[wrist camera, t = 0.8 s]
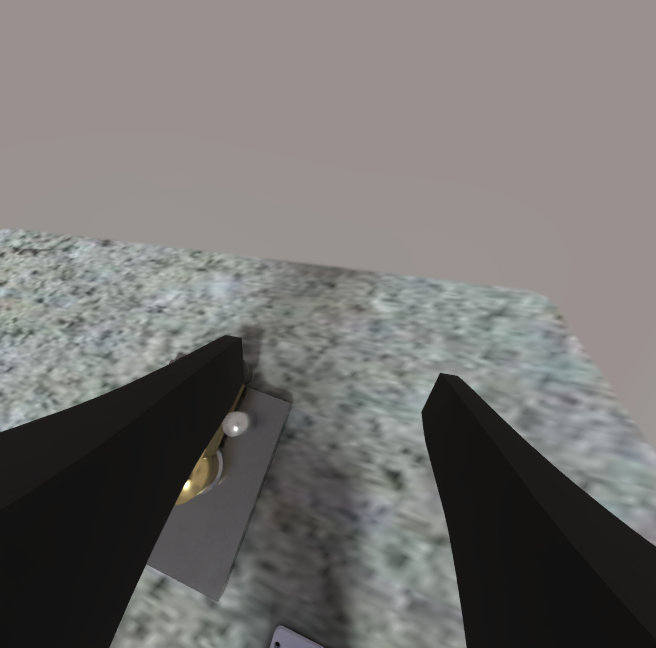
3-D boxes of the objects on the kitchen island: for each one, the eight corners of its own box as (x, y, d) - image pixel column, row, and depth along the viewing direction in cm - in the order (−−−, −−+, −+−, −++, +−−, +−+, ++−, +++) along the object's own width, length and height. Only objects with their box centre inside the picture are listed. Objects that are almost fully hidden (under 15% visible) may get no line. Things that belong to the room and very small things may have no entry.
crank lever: (206, 501, 21) (186, 515, 18) (167, 483, 22) (142, 494, 19) (262, 366, 25) (252, 362, 22) (228, 354, 25) (214, 348, 23)
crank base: (223, 592, 20) (196, 635, 16) (90, 524, 22) (39, 548, 19) (292, 403, 25) (284, 403, 21) (177, 361, 27) (150, 353, 23)
